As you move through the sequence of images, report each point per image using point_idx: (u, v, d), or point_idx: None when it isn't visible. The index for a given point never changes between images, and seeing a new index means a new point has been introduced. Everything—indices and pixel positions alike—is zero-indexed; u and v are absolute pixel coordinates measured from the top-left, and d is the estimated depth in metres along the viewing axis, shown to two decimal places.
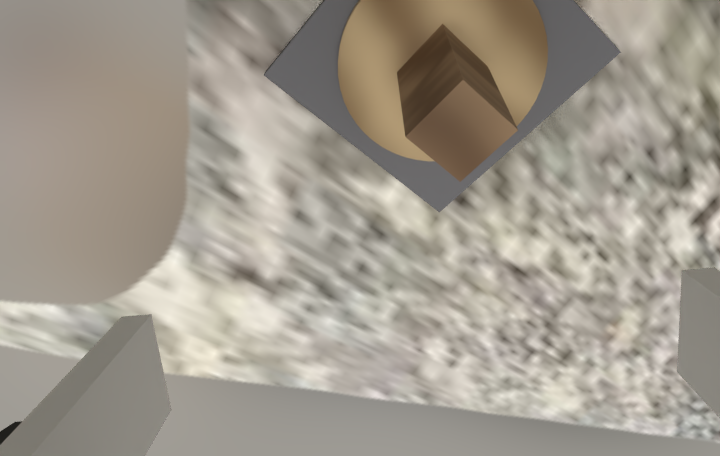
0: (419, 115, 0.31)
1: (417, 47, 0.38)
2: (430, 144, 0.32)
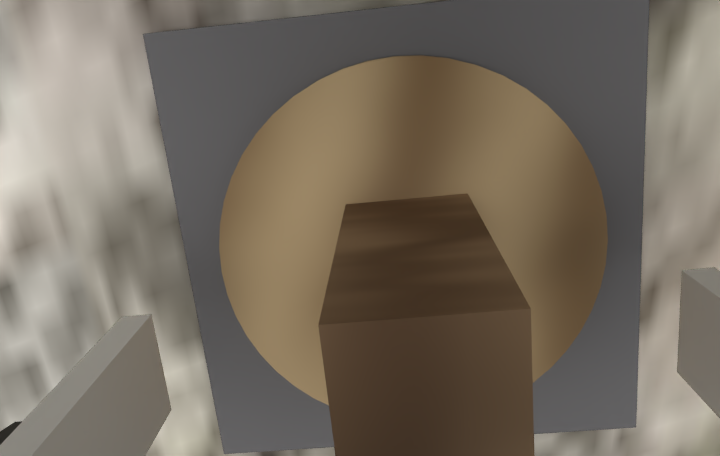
0: (375, 304, 0.12)
1: (405, 195, 0.20)
2: (352, 381, 0.12)
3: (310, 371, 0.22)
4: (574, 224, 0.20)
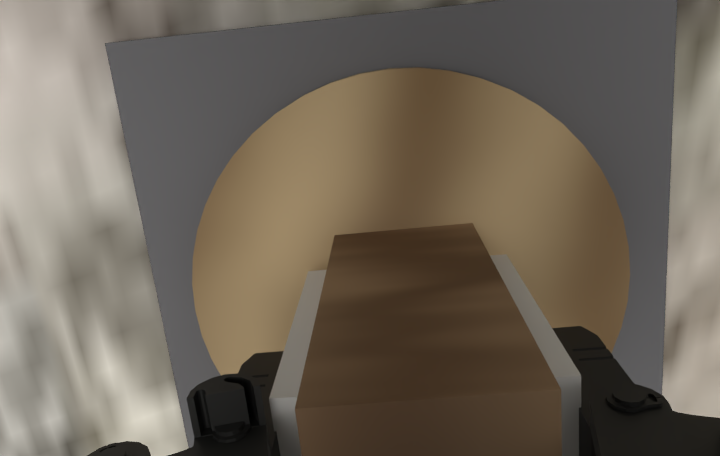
0: (366, 378, 0.10)
1: (402, 225, 0.18)
2: None
3: None
4: (593, 257, 0.18)
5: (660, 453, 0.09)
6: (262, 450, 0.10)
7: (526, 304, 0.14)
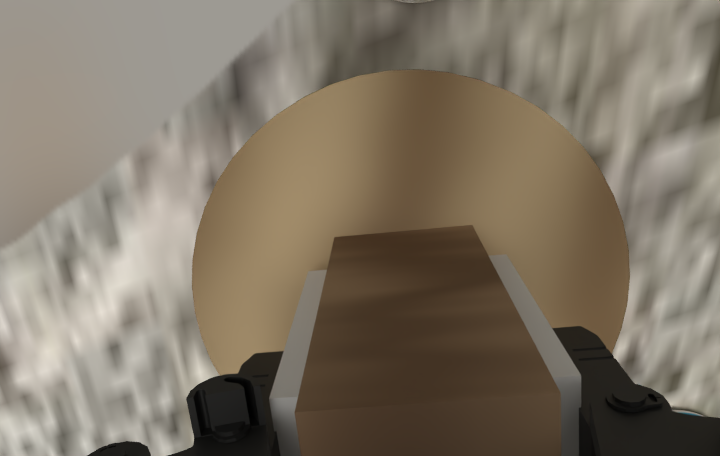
0: (366, 381, 0.10)
1: (401, 227, 0.18)
2: None
3: None
4: (592, 260, 0.18)
5: (660, 453, 0.09)
6: (262, 450, 0.10)
7: (526, 305, 0.14)
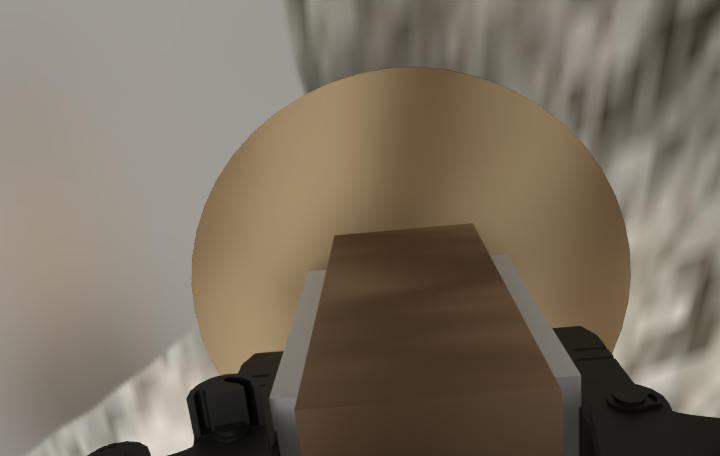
0: (366, 380, 0.10)
1: (402, 225, 0.18)
2: None
3: None
4: (593, 258, 0.18)
5: (660, 453, 0.09)
6: (262, 450, 0.10)
7: (526, 305, 0.14)
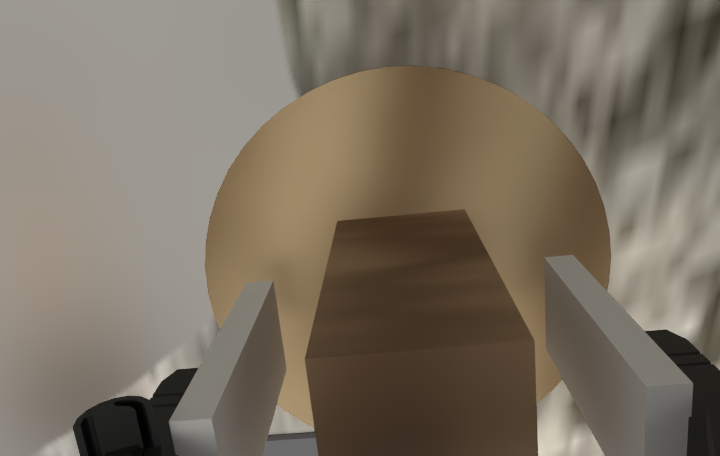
0: (366, 335, 0.11)
1: (399, 211, 0.19)
2: (342, 418, 0.11)
3: (301, 395, 0.21)
4: (576, 241, 0.19)
5: None
6: None
7: (611, 307, 0.13)
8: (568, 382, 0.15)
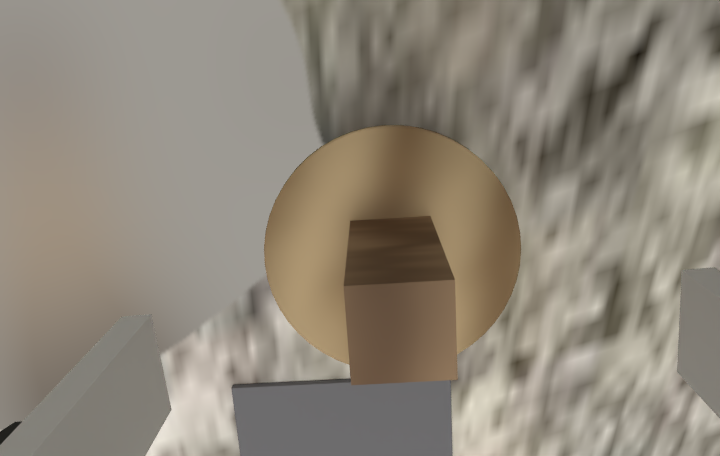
0: (373, 277, 0.23)
1: (389, 215, 0.31)
2: (360, 317, 0.23)
3: (321, 333, 0.33)
4: (499, 238, 0.31)
5: None
6: None
7: None
8: None
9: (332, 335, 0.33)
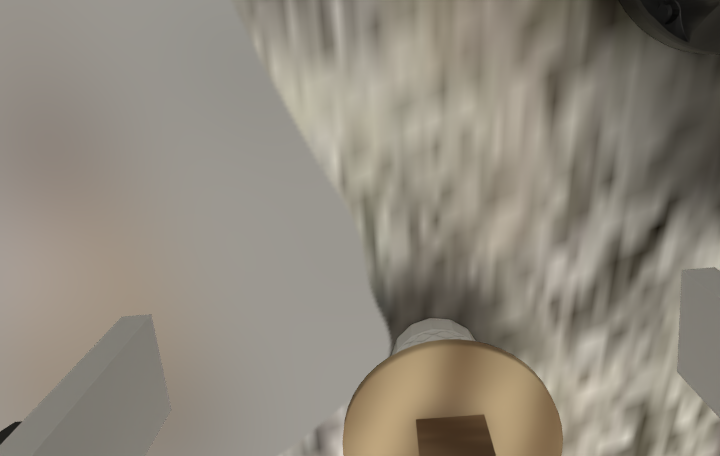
0: None
1: (449, 415, 0.36)
2: None
3: None
4: (544, 430, 0.36)
5: None
6: None
7: None
8: None
9: None
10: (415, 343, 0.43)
